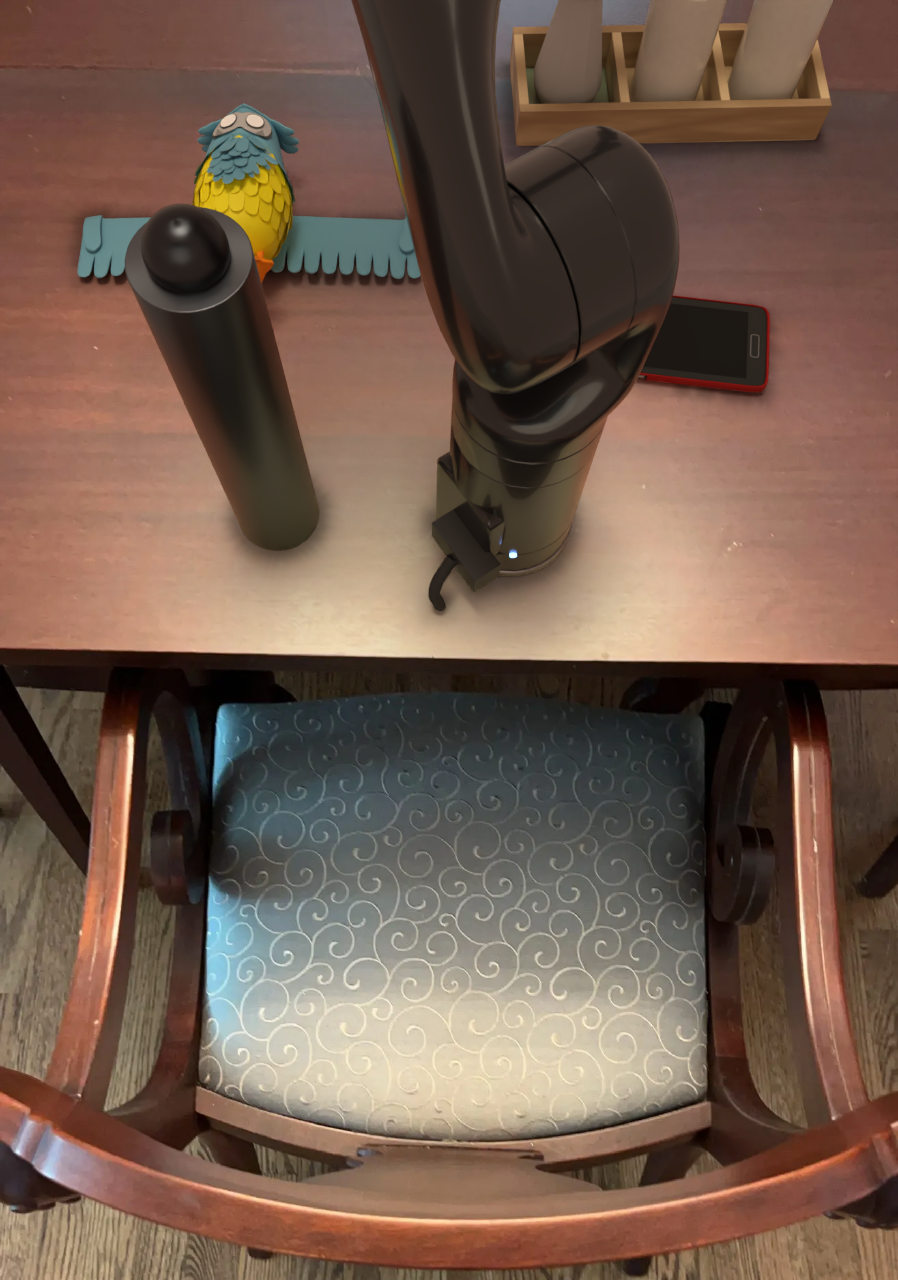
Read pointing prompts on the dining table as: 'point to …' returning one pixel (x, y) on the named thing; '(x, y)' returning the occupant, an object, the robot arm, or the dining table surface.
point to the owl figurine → (262, 210)
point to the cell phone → (711, 345)
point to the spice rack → (668, 119)
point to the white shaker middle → (675, 49)
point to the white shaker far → (776, 48)
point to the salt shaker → (571, 54)
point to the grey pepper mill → (226, 365)
